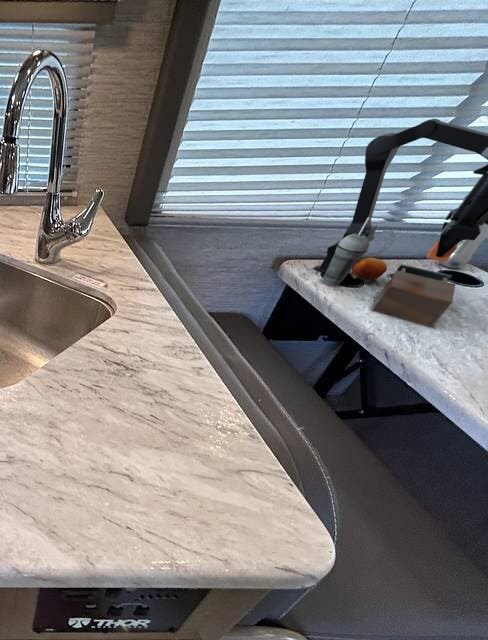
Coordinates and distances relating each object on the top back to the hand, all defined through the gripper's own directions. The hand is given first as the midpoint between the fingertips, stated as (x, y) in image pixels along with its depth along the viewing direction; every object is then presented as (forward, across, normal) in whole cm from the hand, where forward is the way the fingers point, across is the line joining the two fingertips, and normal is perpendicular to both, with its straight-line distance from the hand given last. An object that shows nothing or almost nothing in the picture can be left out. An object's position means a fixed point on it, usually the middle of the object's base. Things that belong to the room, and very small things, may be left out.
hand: (438, 254), depth 108 cm
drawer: (+12, 0, 0) cm, 12 cm away
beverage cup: (+13, -6, +18) cm, 23 cm away
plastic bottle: (+13, +34, -8) cm, 37 cm away
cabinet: (+13, -12, 0) cm, 17 cm away
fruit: (+13, +4, +12) cm, 18 cm away
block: (+1, 0, 0) cm, 1 cm away
